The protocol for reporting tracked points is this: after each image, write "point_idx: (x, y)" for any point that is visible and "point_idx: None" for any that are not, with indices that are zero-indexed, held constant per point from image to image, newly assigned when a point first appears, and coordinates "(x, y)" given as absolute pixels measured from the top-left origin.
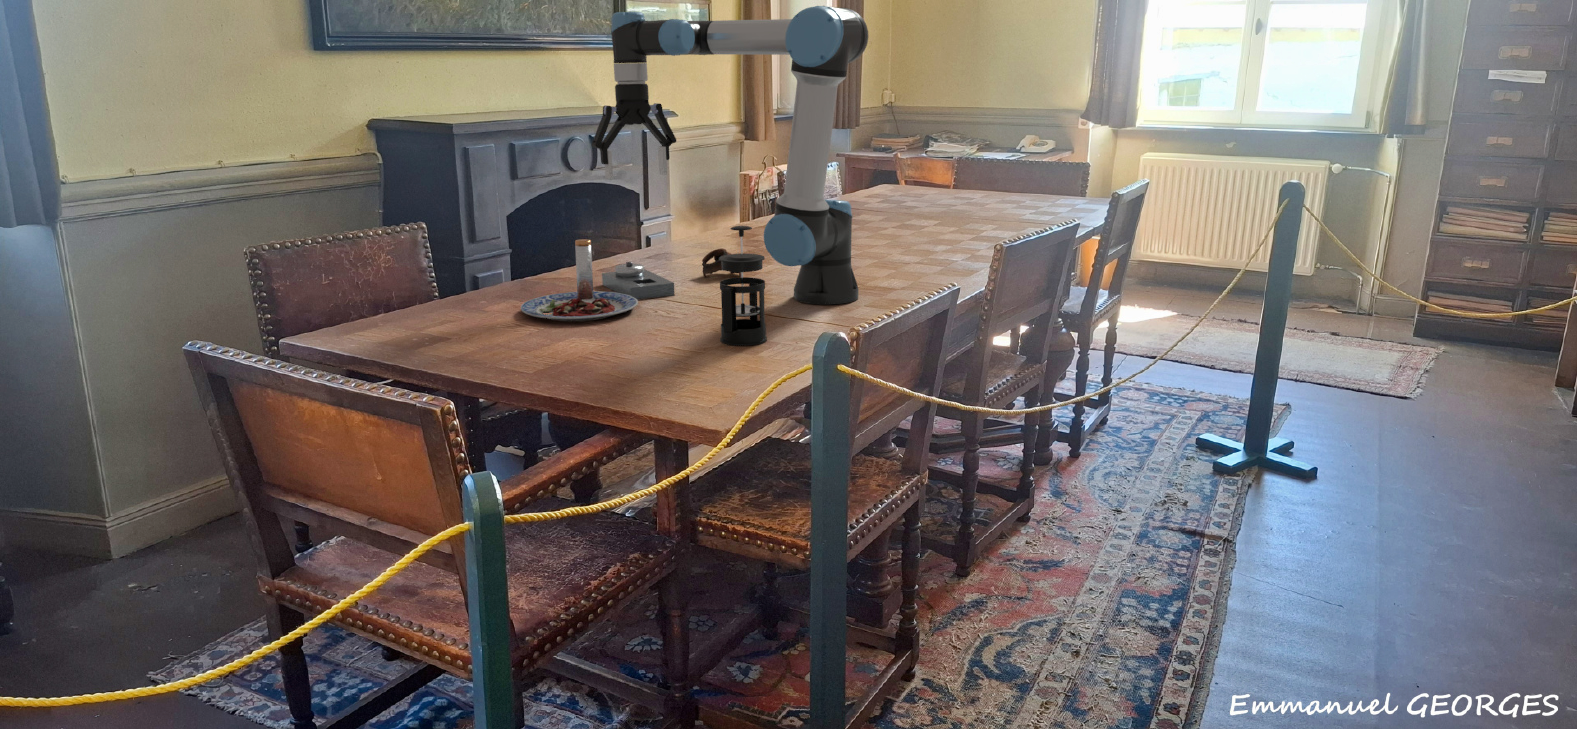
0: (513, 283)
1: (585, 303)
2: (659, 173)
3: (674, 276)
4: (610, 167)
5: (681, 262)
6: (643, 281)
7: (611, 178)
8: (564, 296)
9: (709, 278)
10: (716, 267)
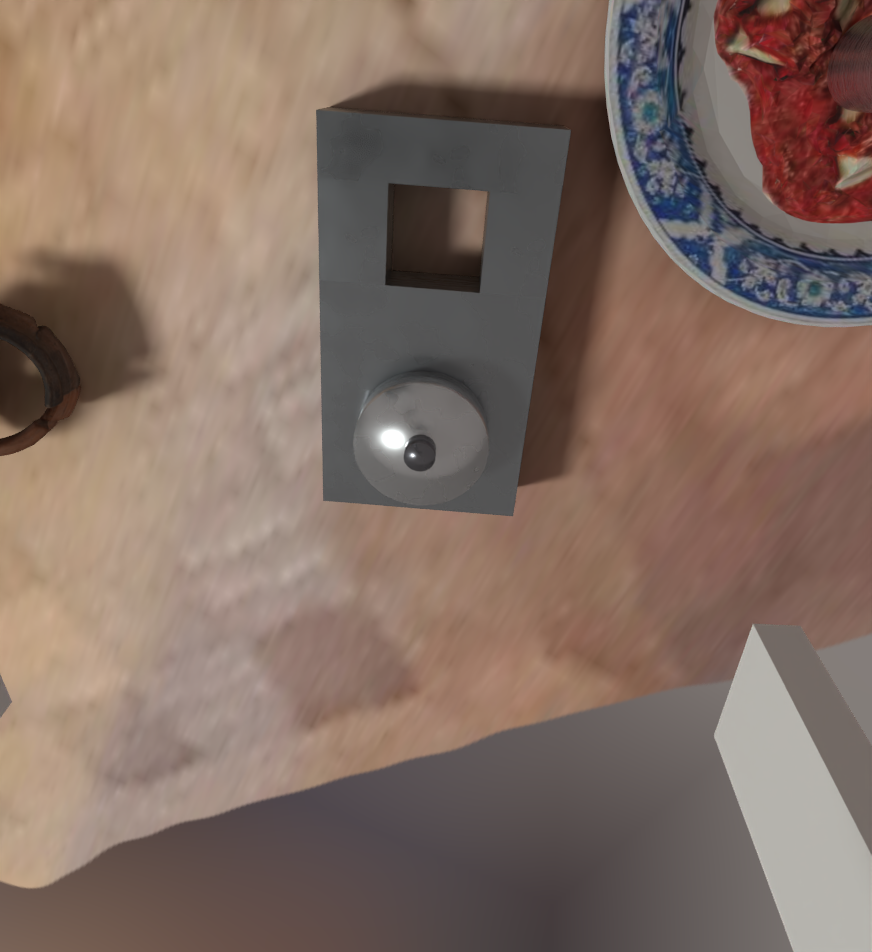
0: None
1: None
2: (7, 705)
3: (195, 472)
4: (867, 768)
5: (99, 655)
6: (421, 284)
7: (780, 631)
8: (834, 279)
9: None
10: (6, 318)
